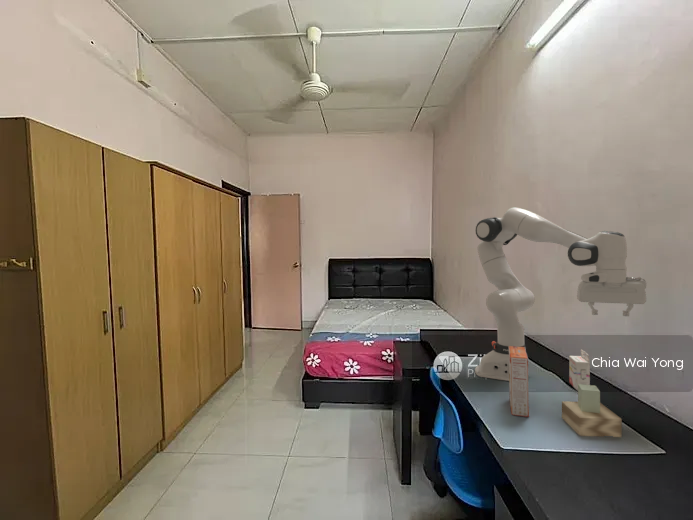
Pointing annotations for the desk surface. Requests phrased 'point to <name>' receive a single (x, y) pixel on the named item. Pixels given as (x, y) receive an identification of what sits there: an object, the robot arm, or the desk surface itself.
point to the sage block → (589, 398)
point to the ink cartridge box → (579, 370)
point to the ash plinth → (592, 420)
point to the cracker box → (518, 381)
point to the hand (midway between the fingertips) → (610, 315)
